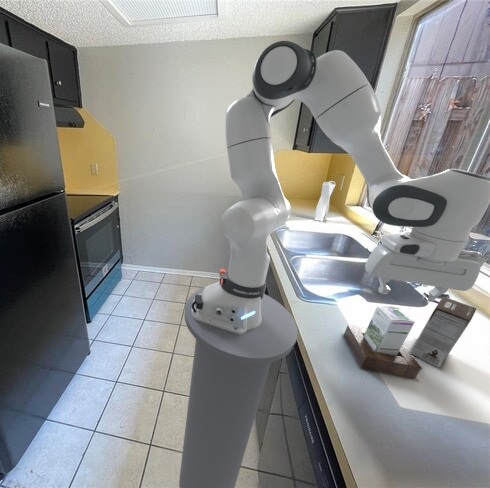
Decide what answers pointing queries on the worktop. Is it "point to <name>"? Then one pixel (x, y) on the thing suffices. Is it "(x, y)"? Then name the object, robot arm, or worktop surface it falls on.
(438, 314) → the coffee box
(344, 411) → the worktop surface
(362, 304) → the worktop surface
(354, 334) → the socket pad
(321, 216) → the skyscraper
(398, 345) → the syrup box
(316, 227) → the worktop surface
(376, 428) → the worktop surface
